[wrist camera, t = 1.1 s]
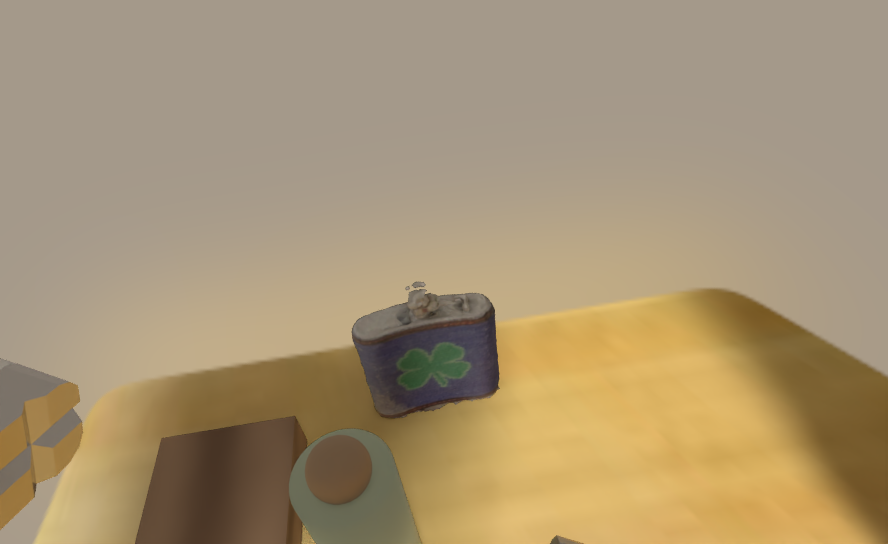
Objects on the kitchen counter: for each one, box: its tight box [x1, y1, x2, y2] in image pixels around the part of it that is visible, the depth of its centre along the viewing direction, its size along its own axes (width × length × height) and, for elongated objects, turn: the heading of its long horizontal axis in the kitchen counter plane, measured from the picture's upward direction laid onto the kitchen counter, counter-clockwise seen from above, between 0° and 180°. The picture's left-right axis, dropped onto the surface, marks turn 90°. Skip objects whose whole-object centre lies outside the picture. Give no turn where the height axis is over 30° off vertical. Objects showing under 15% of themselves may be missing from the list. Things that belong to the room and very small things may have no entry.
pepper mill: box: [289, 429, 422, 544], centre depth 29 cm, size 5×5×15 cm
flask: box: [352, 282, 500, 418], centre depth 40 cm, size 9×3×11 cm, turn 100°
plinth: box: [135, 416, 307, 544], centre depth 38 cm, size 9×9×3 cm
